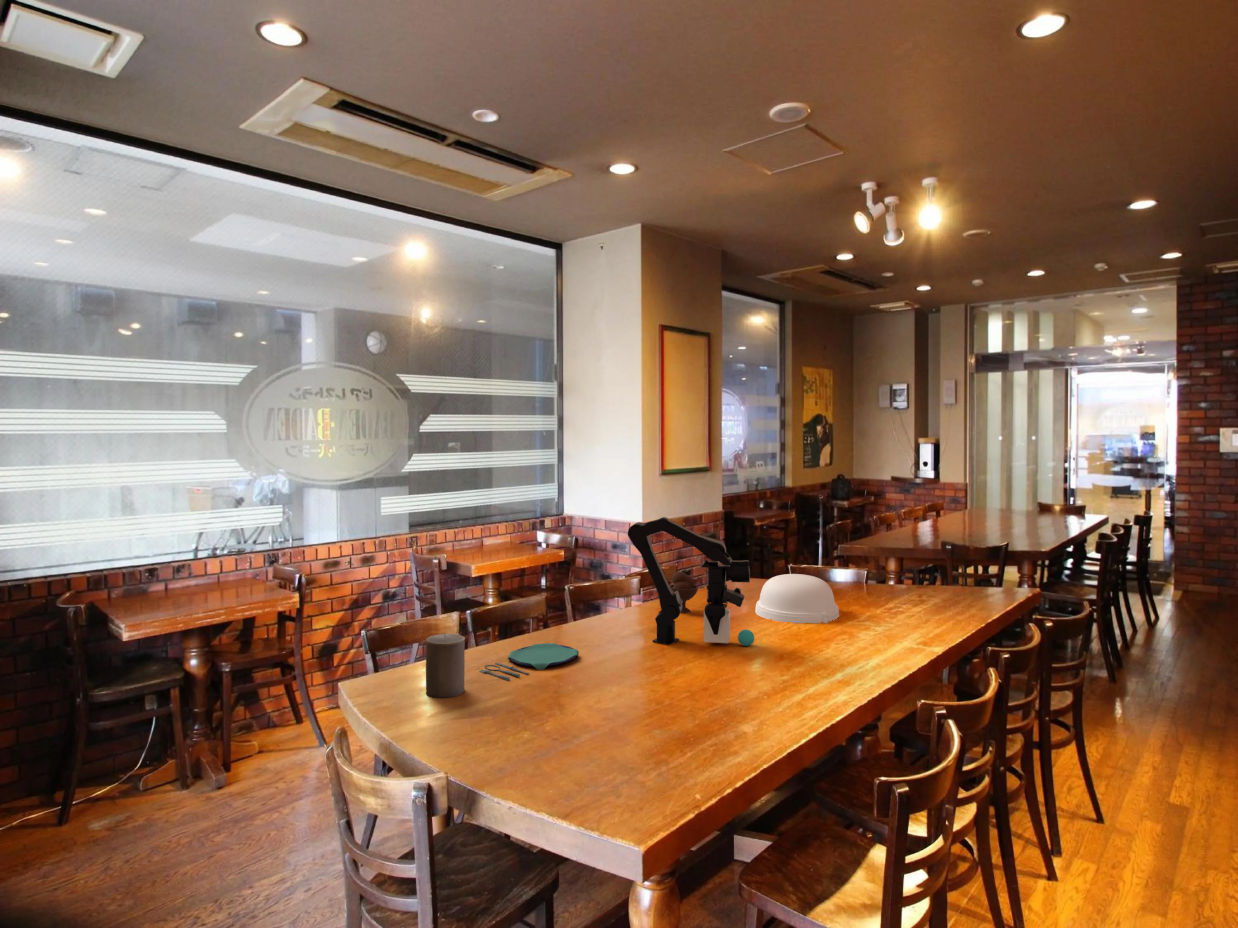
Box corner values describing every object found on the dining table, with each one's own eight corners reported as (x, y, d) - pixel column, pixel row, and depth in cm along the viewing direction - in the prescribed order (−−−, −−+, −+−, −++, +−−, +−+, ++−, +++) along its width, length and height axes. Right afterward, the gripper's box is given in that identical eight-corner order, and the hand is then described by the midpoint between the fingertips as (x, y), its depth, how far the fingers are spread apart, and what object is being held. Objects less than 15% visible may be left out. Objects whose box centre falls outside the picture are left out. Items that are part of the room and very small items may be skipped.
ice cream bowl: (688, 616, 264) (688, 575, 263) (662, 612, 270) (662, 571, 270) (703, 611, 272) (703, 571, 272) (678, 606, 279) (678, 567, 278)
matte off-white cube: (703, 641, 226) (703, 613, 225) (705, 635, 233) (705, 607, 233) (728, 643, 224) (728, 614, 224) (730, 636, 232) (730, 608, 231)
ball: (750, 648, 224) (750, 632, 223) (735, 646, 226) (735, 630, 226) (756, 644, 228) (756, 628, 228) (741, 642, 230) (741, 626, 230)
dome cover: (737, 608, 277) (737, 572, 276) (800, 601, 290) (800, 565, 289) (792, 628, 248) (792, 587, 247) (859, 619, 261) (859, 580, 260)
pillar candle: (425, 699, 181) (426, 639, 180) (425, 686, 190) (425, 629, 189) (466, 696, 183) (466, 637, 183) (463, 683, 193) (463, 627, 192)
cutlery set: (591, 658, 215) (591, 651, 215) (510, 686, 193) (510, 677, 193) (547, 646, 228) (546, 639, 228) (466, 670, 207) (466, 662, 206)
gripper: (742, 588, 217) (742, 640, 218) (743, 576, 236) (743, 624, 236) (704, 587, 219) (704, 638, 220) (708, 575, 238) (708, 623, 238)
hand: (716, 631), depth 229 cm, fingers closed on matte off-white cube, 8 cm apart
